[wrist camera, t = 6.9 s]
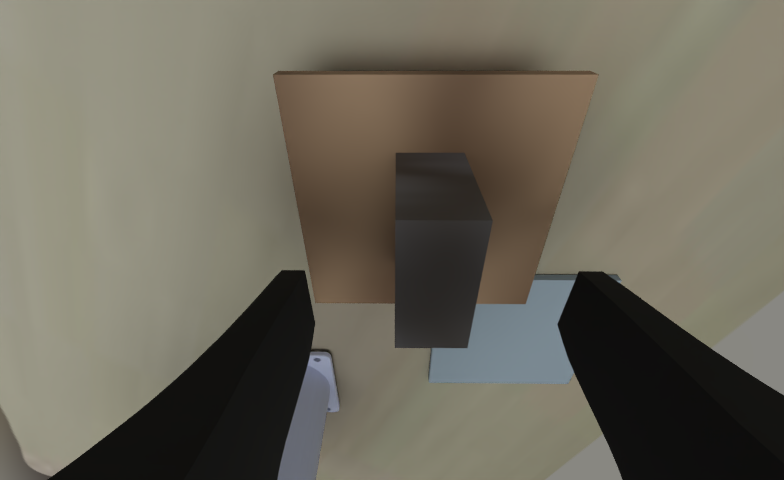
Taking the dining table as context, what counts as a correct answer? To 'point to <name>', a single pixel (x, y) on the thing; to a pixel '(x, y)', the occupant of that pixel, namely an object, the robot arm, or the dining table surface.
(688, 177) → the dining table surface
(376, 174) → the lid
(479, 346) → the mat
